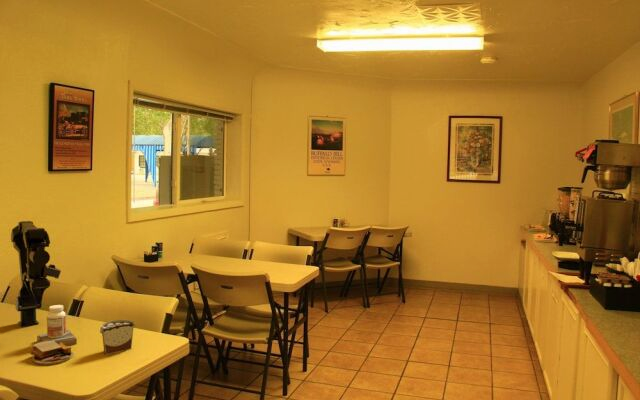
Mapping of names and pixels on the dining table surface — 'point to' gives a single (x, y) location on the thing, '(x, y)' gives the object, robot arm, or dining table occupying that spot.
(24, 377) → the dining table surface
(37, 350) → the toy sandwich meal
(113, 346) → the food container
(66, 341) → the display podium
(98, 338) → the dining table surface
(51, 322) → the pill bottle
